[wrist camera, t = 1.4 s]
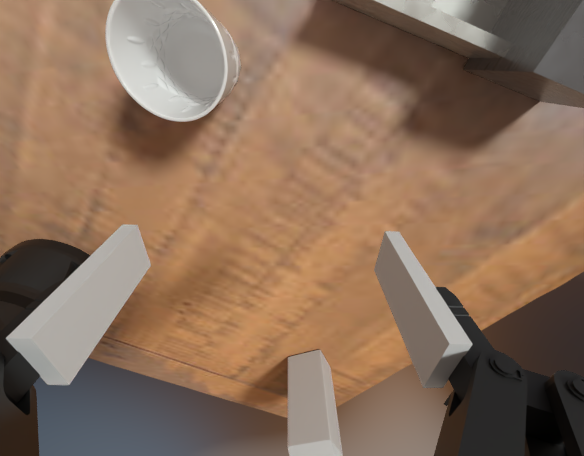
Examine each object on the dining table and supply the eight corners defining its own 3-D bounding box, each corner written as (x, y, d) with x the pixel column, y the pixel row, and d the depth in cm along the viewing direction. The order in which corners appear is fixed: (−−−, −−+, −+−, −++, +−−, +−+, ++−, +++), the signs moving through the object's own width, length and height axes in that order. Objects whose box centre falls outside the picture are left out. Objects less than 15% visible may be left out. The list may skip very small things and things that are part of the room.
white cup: (261, 47, 25) (248, 39, 17) (225, 119, 29) (200, 142, 20) (183, -13, 23) (123, -57, 14) (155, 73, 26) (93, 78, 18)
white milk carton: (287, 356, 53) (287, 481, 37) (320, 348, 52) (334, 474, 36) (299, 373, 57) (304, 494, 41) (330, 366, 56) (347, 488, 40)
